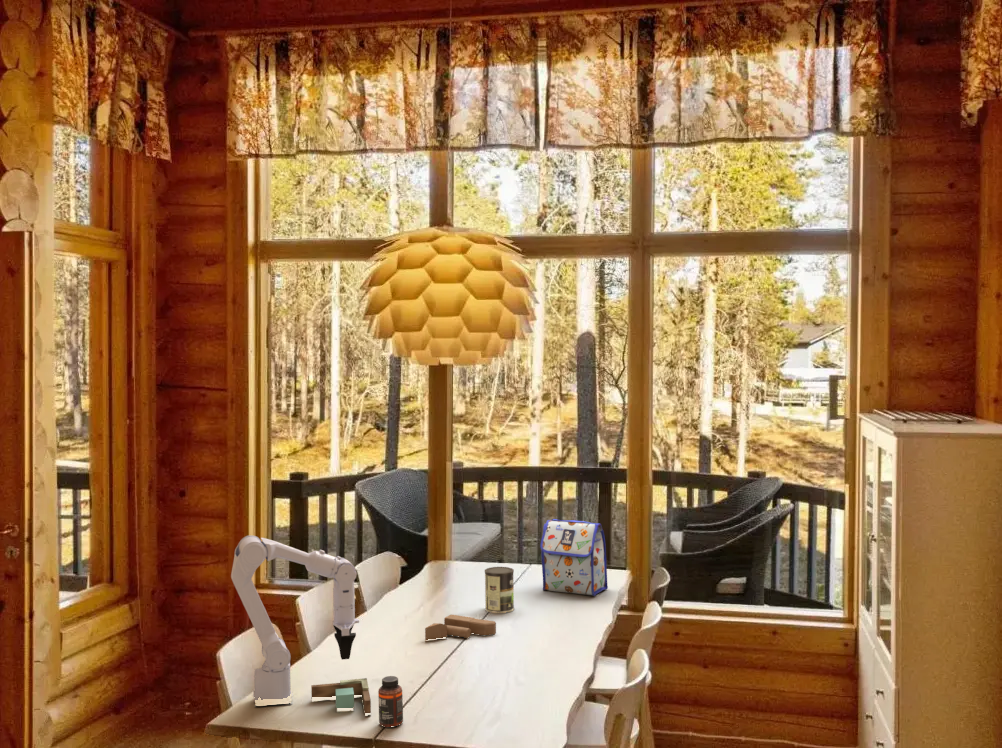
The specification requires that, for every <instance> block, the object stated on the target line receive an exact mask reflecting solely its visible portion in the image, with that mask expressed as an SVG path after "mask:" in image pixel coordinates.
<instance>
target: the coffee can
mask: <svg viewBox="0 0 1002 748" xmlns="http://www.w3.org/2000/svg"><path fill="white" fill-rule="evenodd" d="M484 580H485V581H484V583H485V584H484V585H485V586H484V587H485V588H484V589H485V591H484V592H485V594H484V597H485V609H486V610H487V611H488V613H490V612H491V614H507V613H506V612H508V613H511V612H513V611H514V610H515V605H514V603H515V601H514V598H515V597H514V596H515V595H514V594H515V593H514V569H513V568H511V567H508V566H492V567H487V568H486V569H484ZM486 610H485V611H486ZM487 611H486V612H487Z"/></svg>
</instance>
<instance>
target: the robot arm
mask: <svg viewBox="0 0 1002 748" xmlns="http://www.w3.org/2000/svg"><path fill="white" fill-rule="evenodd" d="M233 556H234V557H233V562H232V568H231V574H230V578H231V581H232V583H233V586H234V588H235V590H236V592H237V594H238V596H239V598H240V600H241V603H242V605H243V607H244V609H245V611H246V613H247V615H248V618H249V620H250V621H251V624H252V626H253V629H254V630H255V633H256V634H257V637H258V639H259V642H260V643H261V654H262V656H263V657H264V661H263V664H262V665H261V667H259V668H254V671H253V672H254V675H253V677H254V679H253V685H254V686H253V687H254V689H253V698H254V697H255V698H254V701H255V700H258V698H259V697H260V698H261V700H263V699H283V698H287V697H288V696H290V694H291V692H292V690H291V687H292V686H291V658H292V657H291V655H292V654H291V653H290V650H289V649H288V647H287V646H286V643H285V641H284V639H282V638H280V637H279V635H278V633H277V632H276V630H275V627H274V625H273V623H272V621H271V618H270V617H269V615H268V612H267V610H266V607H265V606H264V604H263V601H262V600H261V597H260V595H259V593H258V591H257V588H256V586H255V583H254V582H253V577H254V575H255V572H256V571H257V569H258V568H259V567H260V566H261V565H262V564H263V563H264V561H265V560H266V561H267V562H269V561H272V560H275V559H281V560H285V561H289V562H293V563H296V564H300V565H304V566H305V569H306V570H307V572H309V573H312V574H316V575H319V576H322V577H326V578H329V579H333V588H332V599H333V600H332V601H333V603H332V604H333V606H332V607H333V608H332V610H333V611H332V612H333V620H332V627H333V628H334V631H335V632H334V638H335V641H336V642H337V644H338V648H339V649H338V650H339V654H340V655H339V656H340V659H341V660H350V658H351V657H350V656H351V655H352V654H351V652H352V646H353V643H354V640H355V638H356V637H357V634H356V632H352V631H353V628H354V626H355V624H359V623H360V619H359V618H356V613H355V612H356V608H355V607H356V606H355V605H356V604H355V602H356V599H355V596H356V595H355V580H356V578H357V574H358V572H357V571H356V568H355V566H354V564H353V563H352V562H351V561H350V560H348V559H346V558H345V557H341V556H339V555H337V556H333V555H332V554H331V555H330V554H328V553H326V551H325V550H322V549H319V550H313V551H311V552H306V551H303V550H300V549H298V548H295V547H292V546H289V545H286V544H284V543H281V542H278V541H276V540H272V539H270V538H266V537H260V538H259V537H258V536H256V535H251V534H250V535H249V534H248V535H246V536H244V537H242V538H241V539H240V541H239V542H238V544H237V546H236V547H235V549H234V555H233Z"/></svg>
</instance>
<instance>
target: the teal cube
mask: <svg viewBox="0 0 1002 748" xmlns="http://www.w3.org/2000/svg"><path fill="white" fill-rule="evenodd" d="M353 707H354V708H355V698H354V691H353V688H343V689H336V700H335V709H336V708H353Z"/></svg>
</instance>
